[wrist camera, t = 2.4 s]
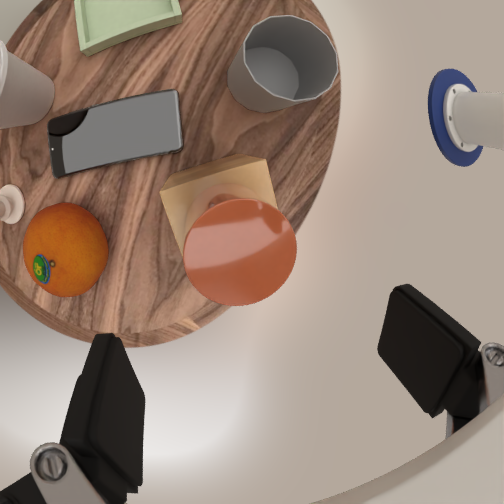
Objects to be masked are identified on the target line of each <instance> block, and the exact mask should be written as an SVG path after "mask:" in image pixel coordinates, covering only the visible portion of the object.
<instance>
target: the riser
mask: <svg viewBox="0 0 504 504" xmlns="http://www.w3.org/2000/svg"><path fill="white" fill-rule="evenodd" d="M222 183H235V184H240V185H243V186H246V187H248V188H250V189H251V190H253V191H254V192H256V193H257V194H258V195H260V196H261V197H262V198H264V199H265V200H266V201H267V202H269V203H270V204H271V205H273V206H274V207H275V208H276V209H278V207H277V203H276V199H275V195H274V190H273V186H272V182H271V178H270V174H269V170H268V166H267V162H266V159H262V158H257V157H253V156H248V155H243V154H235V155H232V156H228V157H225V158H221V159H218V160H214V161H211V162H208V163H204V164H201V165H198V166H195V167H192V168H189V169H186V170H183V171H180V172H177V173H174V174H171V175H170V177H169V178H168V179H167V181H166V183H165V184H164V186H163V187H162V189H161V190H160V192H159V193H160V196H161V199H162V202H163V205H164V208H165V211H166V214H167V217H168V219H169V222H170V225H171V228H172V231H173V233H174V236H175V239H176V241H177V244H178V247H179V249H180V252H181V255H182V257H183V241H184V223H185V217H186V213H187V211H188V208H189V206H190V205H191V203H192V202H193V200H194V199H195V198H196V197H197V196H198V195H199V194H200V193H201V192H203V191H204V190H206V189H207V188H209V187H212V186H214V185H218V184H222Z"/></svg>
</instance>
